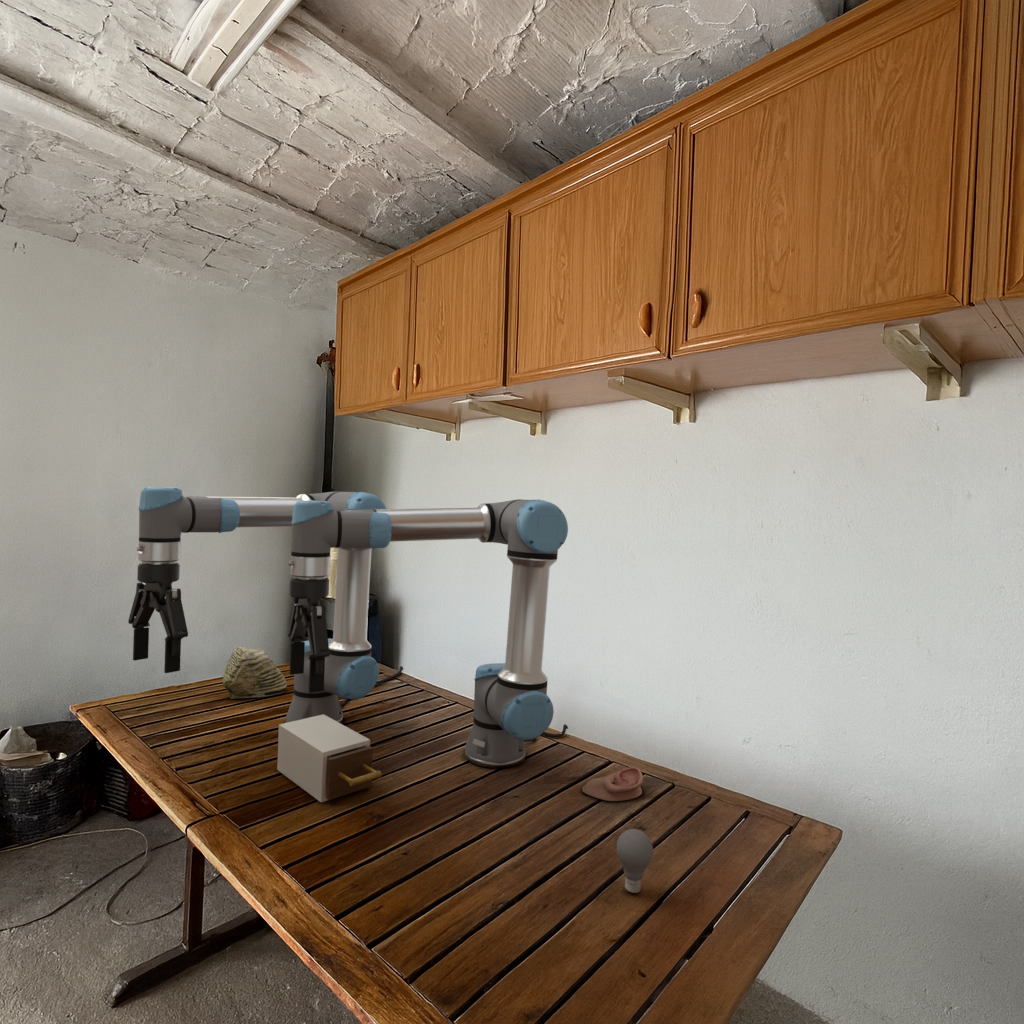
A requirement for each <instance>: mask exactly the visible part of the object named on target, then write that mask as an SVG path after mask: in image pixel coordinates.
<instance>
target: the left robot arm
mask: <svg viewBox="0 0 1024 1024" xmlns="http://www.w3.org/2000/svg"><path fill="white" fill-rule="evenodd" d="M299 500H311V501H329V502H331V504H332V508H333V511H340V512H342V511H344V510H346V509H355V510H377V509H387V506H386V504H385V503H384V502H383V501H382V499H381V498H380V497H379V496H377V495H375V494H373V493H371V492H370V493H369V492H364V491H337V490H336V491H327V492H319V493H318V492H317V493H301V494H298V495H296V497H278V496H277V497H273V496H271V497H270V496H266V497H265V496H207V495H205V496H201V495H199V496H198V495H197V496H195V495H183V490H182V489H181V488H180V487H167V486H145V487H143V488H142V489H141V491H140V495H139V505H138V546H136V551H137V552H138V555H137V560H138V561H140V563H138V564H137V574H136V575H137V576H136V578H137V579H136V580H137V581H138V582H136V587H135V595H134V598H133V601H132V606H131V609H130V612H129V616H128V621H127V622H128V624H129V625H132V626H131V627H132V629H133V643H132V645H133V646H132V660H133V661H134V662H135V661H140V660H146V659H147V660H148V659H149V644H150V642H149V640H150V627H151V625H150V620H151V617H152V616H153V614H154V612H155V611H156V612H157V613H159V616H160V619H161V622H162V625H163V627H164V631H165V633H166V637H165V638H164V670H163V671H164V673H165V674H170V673H175V672H180V671H181V654H182V653H181V651H182V639H184V638H187V637H189V631H188V627H187V621H186V617H185V611H184V607H183V606H184V605H183V602H182V590H181V589H182V588H173V583H175V582H177V581H179V580H180V569H181V564H180V563H179V561H180V560H181V546H182V543H181V542H182V541H181V540H182V539H181V538H182V534H185V533H186V534H188V533H218V534H222V533H230V532H233V531H235V530H236V529H237V528H272V527H273V528H275V527H276V528H277V527H278V528H279V527H281V528H282V527H292V518H293V506H294V504H295V503H296V502H297V501H299ZM372 550H373V549H371V548H340V547H339V548H337V564H336V567H337V568H336V581H335V582H336V583H335V599H334V617H333V631H332V632H333V633H332V638H328V644H329V652H330V655H329V657H326V658H325V671H324V691H320V692H312V693H309V666H310V660H309V659H308V657H309V655H311V649H310V644H309V639H308V640H306V641H303V642H305V651H304V673H302V674H293V695H292V696H293V697H292V699H291V702H290V704H289V708H288V711H287V713H286V715H285V723H288V722H292V721H297V720H301V719H305V718H310V717H314V716H319V715H323V714H324V715H326V716H328V717H329V718H331V719H333V720H335V721H337V722H339V723H340V724H342V723H343V722H344V714H343V709H342V706H344V705H345V704H346V703H347V702H348V700H351V701H357V700H360V699H363V698H364V697H366V696H367V695H368V694H370V692H371V690H373V689H374V688H375V686H377V685H380V684H382V683H385V682H388V681H390V680H392V679H394V678H397V677H398V676H400V675H401V674H402V672H403V671H404V667H403V665H400V666H399V670H398V671H397V672H398V673H397V672H396V673H394V674H392V675H390V676H388V677H386V678H382V679H380V680H379V676H380V666H379V664H378V663H379V662H377V660H376V659H375V658H374V657H373V656H372V644H371V643H370V642H369V641H368V639H367V634H368V633H367V632H368V616H369V599H370V584H371V583H370V582H371V568H372V567H371V566H372V564H371V563H372ZM339 698H341V699H343V700H342V701H341V702H340V699H339Z"/></svg>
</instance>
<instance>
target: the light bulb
mask: <svg viewBox="0 0 1024 1024" xmlns="http://www.w3.org/2000/svg"><path fill="white" fill-rule="evenodd" d="M615 849H616V854H617V857H618V859H619V861H620V863H621V865H622V867H623V873H624V874H623V875H624V876H625V878H624V888H625V890H627V891H628V892H630V893H634V894H635V893H639V892H640V891H641V889H642V887H641V886H642V879H643V877H644V875H645V871H646V868H647V867H648V866H649V864H650V863H651V861H652V859H653V855H654V847H653V843H652V841H651V838H649V836H648V835H647V834H646V833H645V832H643V831H642V830H641V829H636V828H629V829H627V830H625V831H623V832H622V833H621V834H620V835H619V837H618V839H617V841H616V847H615Z"/></svg>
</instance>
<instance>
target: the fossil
mask: <svg viewBox="0 0 1024 1024" xmlns="http://www.w3.org/2000/svg"><path fill="white" fill-rule="evenodd" d="M222 676H223V677H222V685H223V687H224V688H225V690H226V691H228V693H229V698H230V699H250V698H264V697H271V696H275V695H281V694H284V693H285V691H286V689H287V687H288V686H287V680H286V678H285V676H284V674H283V673H282V672H281V669H279V668H278V667H277V665H276V663H275V662H274V660H273V659H272V658H271V657H270V656H269V655H268V654H267V653H266V652H265V650H264V649H263V648H260V647H258V648H251V647H247V646H246V647H245V646H238V647H237V648H236V649H235V650H233V651H232V653H231V656H230V657H229V659H228V660H227V663H226V666H225V668H224V671H223V675H222Z"/></svg>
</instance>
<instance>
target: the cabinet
mask: <svg viewBox="0 0 1024 1024" xmlns="http://www.w3.org/2000/svg"><path fill="white" fill-rule="evenodd" d="M277 738H278V739H277V742H278V743H277V762H276V763H277V766H276V770H277V771H278V772H280V773H281V774H282V775H283V776H285V777H286V778H288V779H289V780H290V781H292V782H293V783H294V784H296V785H297V786H298V787H300V788H301V789H302V790H304V791H305V792H306V793H307V794H309V795H310V796H311V797H313V798H314V799H315V800H317V801H318V802H320V803H325V802H327V801H329V800H328V799H326V777H327V756H330V755H333V754H337V753H341V752H344V751H348V750H351V749H355V748H359V747H362V748H365V747H368V746H370V747H371V739H370V738H368V737H366V736H364V735H362V734H361V733H359V732H357V731H355V730H353V729H352V728H350V727H348V726H346V725H344V724H342V723H341V724H340V723H339V722H337V721H335V720H333V719H331V718H329V717H328V716H326V715H324V714H323V715H319V716H314V717H310V718H305V719H301V720H297V721H292V722H288V723H286V722H284V723H280V724H278V735H277Z"/></svg>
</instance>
